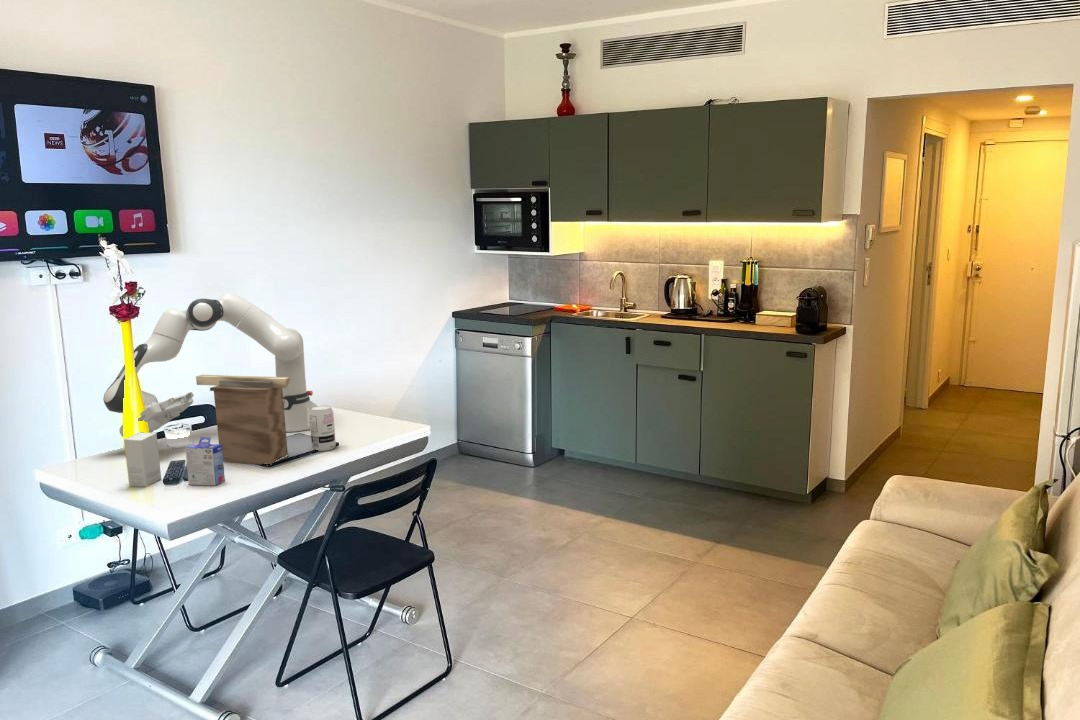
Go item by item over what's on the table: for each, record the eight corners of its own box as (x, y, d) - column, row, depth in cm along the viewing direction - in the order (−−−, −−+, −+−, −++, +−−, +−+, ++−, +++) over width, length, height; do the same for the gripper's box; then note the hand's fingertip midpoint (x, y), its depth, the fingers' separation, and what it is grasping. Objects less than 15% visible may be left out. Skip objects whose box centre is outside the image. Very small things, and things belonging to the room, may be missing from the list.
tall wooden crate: (237, 453, 297) (230, 376, 293) (291, 456, 291) (284, 377, 286) (217, 462, 287) (209, 382, 282) (272, 465, 281) (265, 383, 276)
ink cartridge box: (226, 480, 266) (222, 436, 263) (216, 486, 260) (211, 441, 258) (198, 479, 268) (194, 435, 265) (188, 485, 262) (183, 440, 260)
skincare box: (144, 478, 271) (139, 431, 268) (163, 479, 270) (158, 432, 267) (128, 486, 263) (122, 438, 260) (147, 487, 261) (141, 439, 259)
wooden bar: (202, 383, 292) (201, 374, 291) (290, 386, 282) (289, 377, 281) (196, 384, 289) (195, 376, 288) (285, 387, 279) (284, 379, 278)
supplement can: (317, 445, 305) (314, 405, 302) (339, 445, 304) (336, 405, 301) (308, 451, 297) (305, 410, 294) (331, 451, 296) (328, 410, 293)
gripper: (130, 414, 288) (156, 395, 283) (171, 401, 307) (197, 383, 303) (139, 429, 288) (166, 411, 283) (180, 415, 307) (206, 398, 303)
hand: (182, 396), depth 293 cm, fingers open, 8 cm apart
